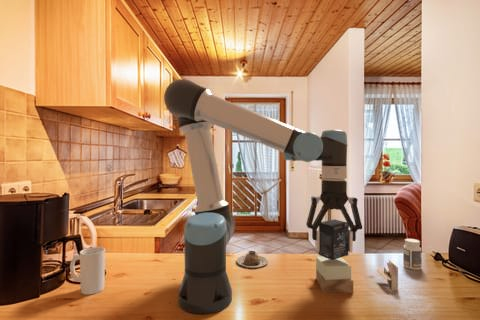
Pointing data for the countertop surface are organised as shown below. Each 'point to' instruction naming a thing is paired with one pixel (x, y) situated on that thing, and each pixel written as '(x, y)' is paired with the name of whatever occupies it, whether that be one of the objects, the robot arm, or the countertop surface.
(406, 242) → the pill bottle
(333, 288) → the tower base
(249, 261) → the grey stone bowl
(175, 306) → the countertop surface
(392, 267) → the architectural model
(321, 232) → the box
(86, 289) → the mug
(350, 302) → the countertop surface
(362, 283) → the countertop surface
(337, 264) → the tower top
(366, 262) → the countertop surface
